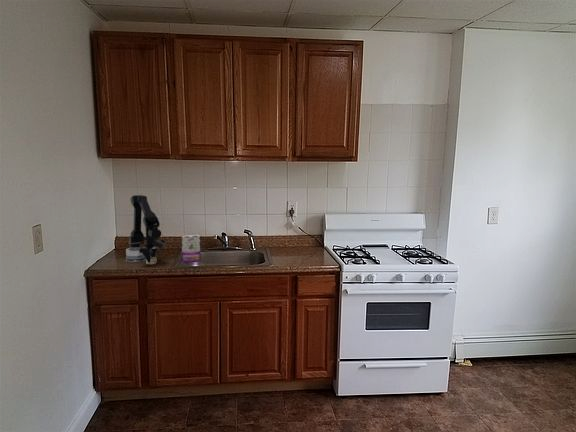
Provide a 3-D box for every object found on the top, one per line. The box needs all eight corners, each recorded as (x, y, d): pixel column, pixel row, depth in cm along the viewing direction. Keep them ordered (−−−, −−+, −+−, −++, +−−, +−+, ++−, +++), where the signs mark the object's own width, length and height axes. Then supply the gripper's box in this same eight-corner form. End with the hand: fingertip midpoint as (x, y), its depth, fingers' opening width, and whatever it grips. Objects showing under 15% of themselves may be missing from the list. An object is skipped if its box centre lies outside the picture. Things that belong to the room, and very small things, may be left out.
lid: (148, 261, 230) (148, 256, 230) (158, 262, 230) (158, 257, 229) (144, 264, 224) (144, 259, 224) (154, 264, 224) (153, 259, 223)
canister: (131, 257, 239) (131, 246, 238) (149, 258, 238) (149, 247, 237) (121, 262, 227) (121, 250, 226) (141, 263, 226) (140, 251, 226)
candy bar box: (200, 260, 237) (200, 234, 235) (200, 262, 233) (200, 236, 231) (181, 260, 234) (181, 235, 232) (181, 262, 230) (181, 236, 227)
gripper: (157, 239, 215) (157, 265, 217) (169, 233, 234) (170, 258, 236) (138, 238, 216) (139, 265, 218) (152, 233, 234) (152, 257, 236)
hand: (151, 261), depth 227 cm, fingers closed on lid, 6 cm apart
